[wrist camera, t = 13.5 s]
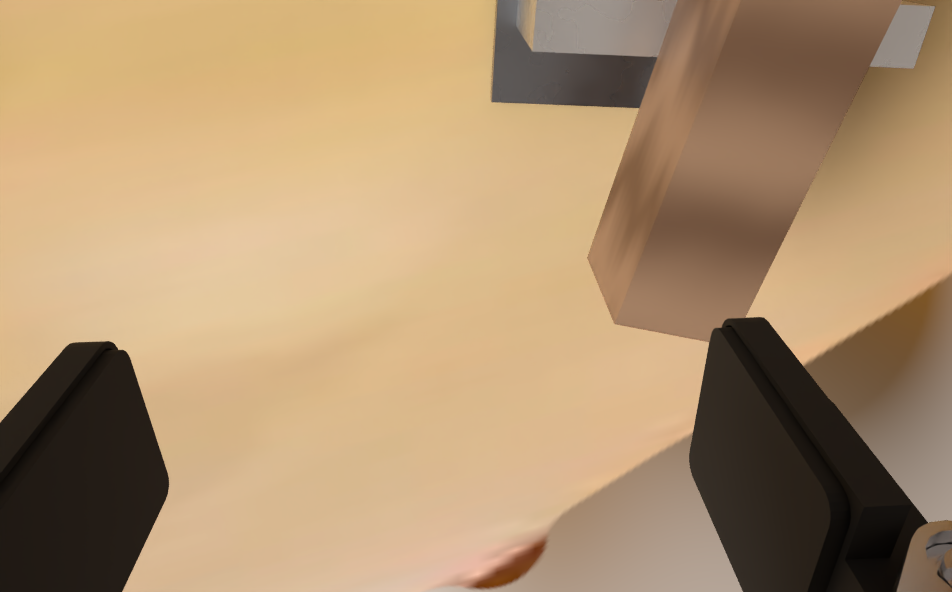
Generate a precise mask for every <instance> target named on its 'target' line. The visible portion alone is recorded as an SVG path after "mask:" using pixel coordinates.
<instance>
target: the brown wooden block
mask: <svg viewBox="0 0 952 592" xmlns="http://www.w3.org/2000/svg"><path fill="white" fill-rule="evenodd" d="M901 2H902V0H677V3H676V6H675V8H674V11H673V14H672V17H671V20H670V23H669V26H668V28H667V31H666V34H665V37H664V40H663V43H662V46H661V48H660V51H659V54H658V57H657V60H656V63H655V66H654V68H653V71H652V74H651V77H650V80H649V83H648V86H647V88H646V91H645V94H644V97H643V100H642V103H641V106H640V108H639V111H638V114H637V117H636V120H635V123H634V126H633V128H632V131H631V134H630V137H629V140H628V143H627V146H626V148H625V151H624V154H623V157H622V160H621V163H620V166H619V168H618V171H617V174H616V177H615V180H614V183H613V186H612V188H611V191H610V194H609V197H608V200H607V203H606V206H605V208H604V211H603V214H602V217H601V220H600V223H599V226H598V228H597V231H596V234H595V237H594V240H593V243H592V246H591V248H590V251H589V254H588V257H587V258H588V261H589V263H590V266H591V268H592V271H593V273H594V275H595V278H596V280H597V283H598V285H599V288H600V290H601V292H602V295H603V297H604V300H605V302H606V305H607V307H608V309H609V312H610V314H611V317H612V319H613V321H614V324H617V325H622V326H628V327H633V328H638V329H643V330H648V331H654V332H659V333H664V334H669V335H675V336H680V337H685V338H690V339H695V340H701V341H706V342H710V337H711V333H712V331H713V329H715V328H722V324H723V323H724V321H725V320H726V319H728V318H745V317H746V315H747V313H748V311H749V309H750V307H751V305H752V303H753V301H754V299H755V297H756V295H757V293H758V291H759V289H760V287H761V285H762V283H763V281H764V279H765V276H766V274H767V272H768V270H769V268H770V266H771V264H772V262H773V260H774V258H775V256H776V254H777V252H778V250H779V248H780V246H781V244H782V242H783V240H784V238H785V236H786V234H787V232H788V230H789V228H790V226H791V224H792V222H793V220H794V218H795V216H796V214H797V212H798V210H799V208H800V206H801V204H802V202H803V200H804V198H805V196H806V194H807V192H808V190H809V188H810V186H811V184H812V182H813V180H814V178H815V175H816V173H817V171H818V169H819V167H820V165H821V163H822V161H823V159H824V157H825V155H826V153H827V151H828V149H829V147H830V145H831V143H832V141H833V139H834V137H835V135H836V133H837V131H838V129H839V127H840V125H841V123H842V121H843V119H844V117H845V115H846V113H847V111H848V109H849V107H850V105H851V103H852V101H853V99H854V97H855V95H856V93H857V91H858V89H859V87H860V85H861V83H862V81H863V79H864V76H865V74H866V72H867V70H868V68H869V66H870V64H871V62H872V60H873V58H874V56H875V54H876V52H877V50H878V48H879V46H880V44H881V42H882V40H883V38H884V36H885V34H886V32H887V30H888V28H889V26H890V24H891V22H892V20H893V18H894V16H895V14H896V12H897V10H898V8H899V6H900V4H901Z"/></svg>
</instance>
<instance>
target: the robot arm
mask: <svg viewBox="0 0 952 592" xmlns="http://www.w3.org/2000/svg"><path fill="white" fill-rule="evenodd" d="M689 462H690V469H691V473H692V476H693V478H694V481H695V483H696V485H697V487H698V490H699V492H700V494H701V497H702V499H703V501H704V503H705V506H706V508H707V510H708V513H709V515H710V517H711V519H712V522H713V524H714V526H715V528H716V531H717V533H718V535H719V538H720V540H721V542H722V544H723V547H724V549H725V551H726V554H727V556H728V558H729V561H730V563H731V565H732V567H733V570H734V572H735V574H736V577H737V578H738V581H739V583H740V586H741V588H742V590H743V592H952V521H948V520H944V521H937V522H929V523H928V522H927V521H926V520H925V518H924V517H923V516H922V514H921V513H920V512H919V511H918V510H917V508H916V507H915V506H914V504H913V503H912V502H911V501H910V499H909V498H908V497H907V496H906V494H905V493H904V492H903V490H902V489H901V488H900V487H899V485H898V484H897V483H896V482H895V480H894V479H893V478H892V476H891V475H890V474H889V473H888V472H887V470H886V469H885V468H884V467H883V465H882V464H881V463H880V461H879V460H878V459H877V458H876V456H875V455H874V454H873V452H872V451H871V450H870V449H869V447H868V446H867V445H866V443H865V442H864V441H863V440H862V438H861V437H860V436H859V435H858V434H857V432H856V431H855V430H854V429H853V427H852V426H851V424H850V423H849V422H848V421H847V419H846V418H845V417H844V416H843V414H842V413H841V412H840V411H839V409H838V408H837V407H836V406H835V404H834V403H833V402H831V400H830V399H828V398H827V396H826V395H825V394H824V392H823V391H822V390H821V389H820V387H819V386H818V385H817V383H816V382H815V381H814V379H813V378H812V377H811V376H810V374H809V373H808V372H807V371H806V369H805V368H804V367H803V365H802V364H801V363H800V362H799V360H798V359H797V358H796V357H795V355H794V354H793V353H792V351H791V350H790V349H789V348H788V346H787V345H786V344H785V343H784V341H783V340H782V339H781V337H780V336H779V335H778V334H777V332H776V331H775V330H774V329H773V327H772V326H771V325H770V323H769V322H768V321H767V320H766V319H765V318H762V317H754V318H728V319H726V320H725V321H724V323H723V324H722V328H715V329H713V331H712V333H711V337H710V342H709V348H708V353H707V359H706V364H705V370H704V375H703V381H702V386H701V392H700V397H699V403H698V409H697V414H696V420H695V425H694V431H693V436H692V442H691V447H690V454H689ZM168 489H169V478H168V473H167V470H166V467H165V464H164V461H163V458H162V455H161V452H160V449H159V446H158V442H157V439H156V436H155V433H154V430H153V427H152V424H151V421H150V418H149V415H148V412H147V409H146V406H145V403H144V400H143V396H142V393H141V390H140V387H139V384H138V381H137V378H136V375H135V372H134V369H133V366H132V363H131V360H130V357H129V355H128V353H127V352H126V351H124V350H118V348H117V347H116V345H115V344H114V343H112V342H110V341H105V342H78V343H71V344H69V345H68V346H67V347H65V349H64V350H63V351H62V352H61V353H60V354H59V356H58V357H57V358H56V359H55V360H54V361H53V362H52V364H51V365H50V366H49V367H48V368H47V369H46V371H45V372H44V373H43V374H42V375H41V376H40V377H39V379H38V380H37V381H36V382H35V383H34V384H33V386H32V387H31V388H30V389H29V390H28V391H27V392H26V394H25V395H24V396H23V397H22V398H21V399H20V401H19V402H18V403H17V404H16V405H15V406H14V408H13V409H12V410H11V411H10V412H9V413H8V414H7V416H6V417H5V418H4V419H3V420H2V421H1V423H0V592H122V591H123V589H124V587H125V584H126V582H127V580H128V578H129V576H130V574H131V572H132V570H133V567H134V565H135V563H136V561H137V559H138V557H139V555H140V553H141V551H142V548H143V546H144V544H145V542H146V540H147V538H148V536H149V534H150V532H151V529H152V527H153V525H154V523H155V521H156V519H157V517H158V515H159V512H160V510H161V508H162V506H163V504H164V502H165V500H166V497H167V494H168Z"/></svg>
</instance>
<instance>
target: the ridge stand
mask: <svg viewBox="0 0 952 592" xmlns="http://www.w3.org/2000/svg"><path fill="white" fill-rule="evenodd" d="M676 3H677V0H496V12H495V29H494V46H493V63H492V81H491V102H503V103H528V104H553V105H578V106H602V107H627V108H640V106H641V103H642V100H643V97H644V94H645V91H646V88H647V86H648V83H649V80H650V77H651V74H652V71H653V68H654V66H655V63H656V60H657V57H658V54H659V51H660V48H661V46H662V43H663V40H664V37H665V34H666V31H667V28H668V26H669V23H670V20H671V17H672V14H673V11H674V8H675V6H676ZM934 9H935V6H930V5H925V4H919V3H914V2H908V1H902V2H901V4H900V6H899V8H898V10H897V12H896V14H895V16H894V18H893V20H892V22H891V24H890V26H889V28H888V30H887V32H886V34H885V36H884V38H883V40H882V42H881V44H880V46H879V48H878V50H877V52H876V54H875V56H874V58H873V60H872V62H871V64H870V66H869V67H890V68H912V69H914V66H915V64H916V61H917V58H918V55H919V52H920V49H921V46H922V43H923V40H924V38H925V35H926V32H927V29H928V26H929V23H930V20H931V17H932V14H933V12H934Z"/></svg>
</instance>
